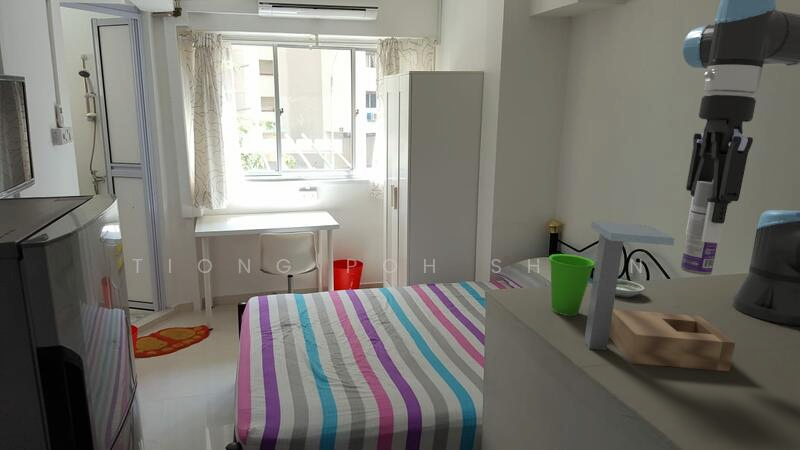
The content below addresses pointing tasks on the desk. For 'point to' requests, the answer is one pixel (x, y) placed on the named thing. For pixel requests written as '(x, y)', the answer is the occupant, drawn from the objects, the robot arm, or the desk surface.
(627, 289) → the saucer
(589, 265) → the cup
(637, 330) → the socket block
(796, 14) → the robot arm
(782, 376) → the desk surface
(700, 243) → the container
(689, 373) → the desk surface
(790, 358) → the desk surface
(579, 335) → the desk surface
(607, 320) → the grey flat-topped post
